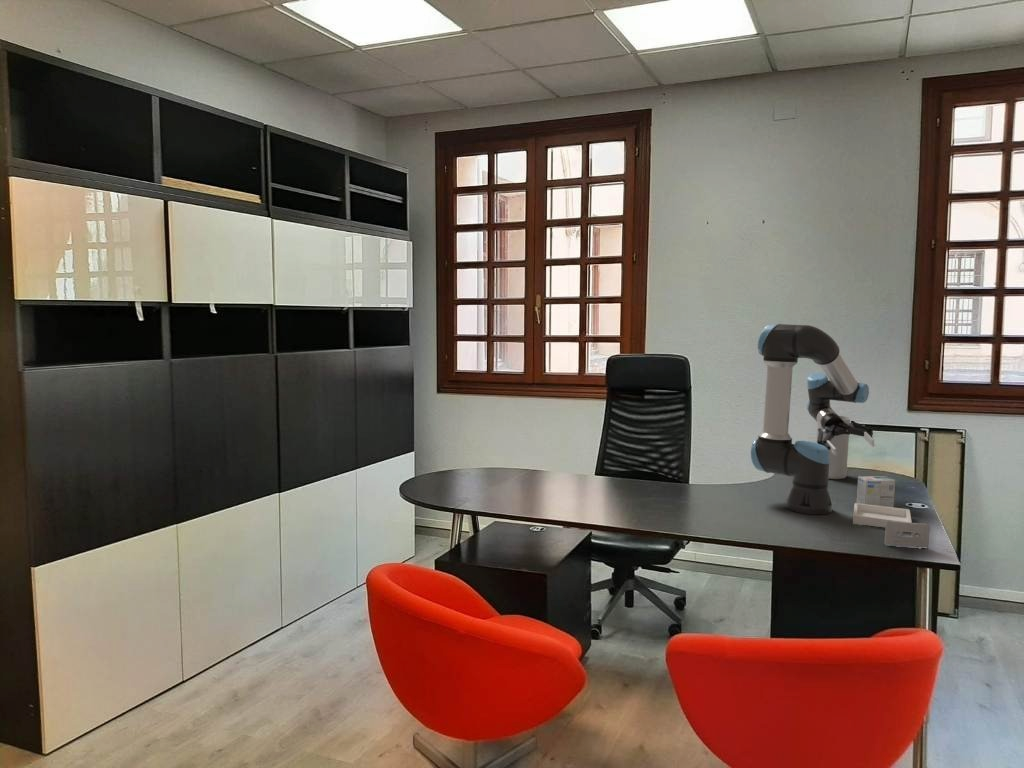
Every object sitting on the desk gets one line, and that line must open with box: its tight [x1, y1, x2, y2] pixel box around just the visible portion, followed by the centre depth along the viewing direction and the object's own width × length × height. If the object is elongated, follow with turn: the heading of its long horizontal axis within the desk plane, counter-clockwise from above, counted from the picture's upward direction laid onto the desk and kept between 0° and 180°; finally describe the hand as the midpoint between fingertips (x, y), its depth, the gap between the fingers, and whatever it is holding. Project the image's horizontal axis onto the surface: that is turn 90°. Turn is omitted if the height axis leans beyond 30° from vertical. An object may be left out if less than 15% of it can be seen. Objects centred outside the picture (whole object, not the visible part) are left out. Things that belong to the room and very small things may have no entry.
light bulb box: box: [856, 475, 896, 508], centre depth 265 cm, size 11×7×11 cm, turn 92°
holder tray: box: [852, 502, 913, 527], centre depth 249 cm, size 17×17×3 cm
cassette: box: [883, 521, 931, 548], centre depth 223 cm, size 12×2×8 cm, turn 77°
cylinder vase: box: [815, 415, 851, 480], centre depth 311 cm, size 12×12×25 cm
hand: (854, 447), depth 268 cm, fingers open, 13 cm apart
